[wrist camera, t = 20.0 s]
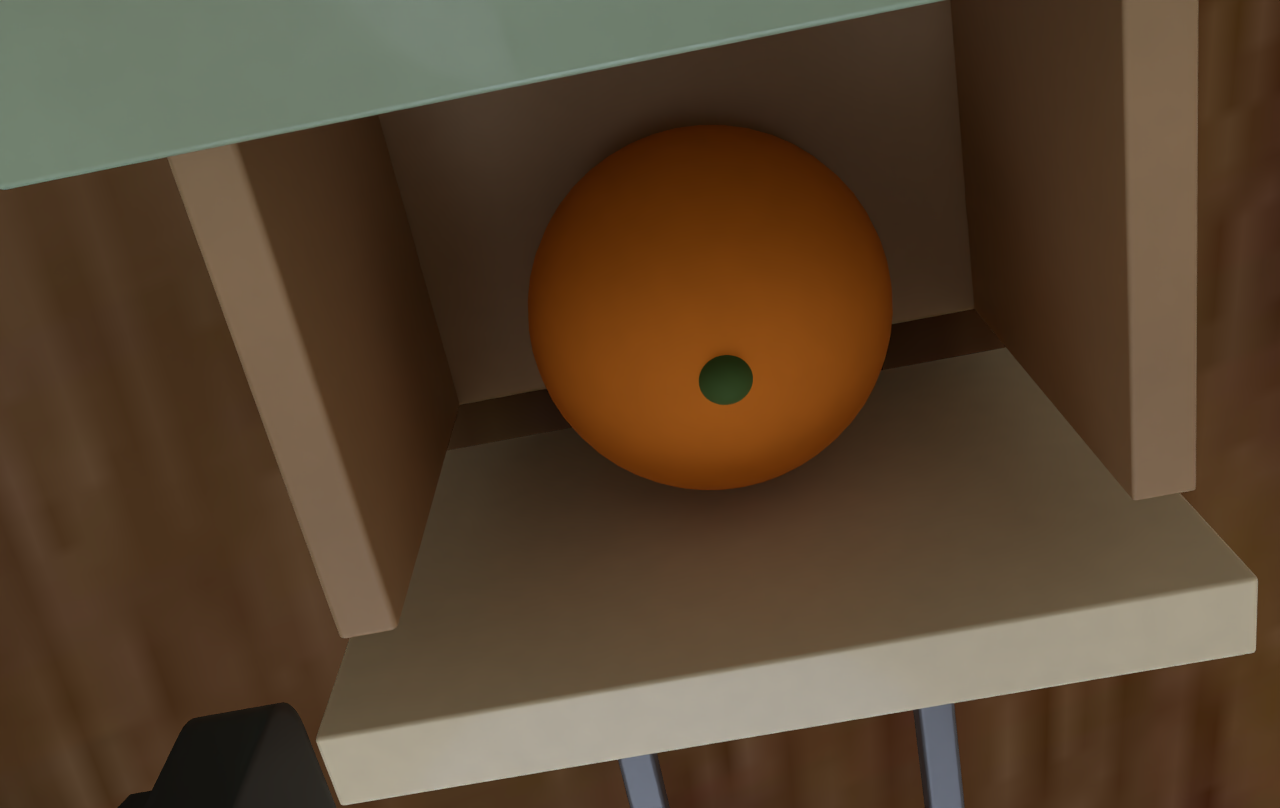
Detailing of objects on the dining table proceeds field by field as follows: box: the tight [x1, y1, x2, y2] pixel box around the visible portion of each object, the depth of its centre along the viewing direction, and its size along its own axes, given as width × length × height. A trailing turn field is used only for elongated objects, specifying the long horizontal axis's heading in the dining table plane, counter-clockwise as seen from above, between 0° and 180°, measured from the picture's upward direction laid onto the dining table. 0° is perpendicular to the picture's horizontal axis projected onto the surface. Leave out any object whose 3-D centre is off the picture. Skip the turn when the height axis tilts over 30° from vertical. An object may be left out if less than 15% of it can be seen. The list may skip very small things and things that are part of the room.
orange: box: [528, 125, 893, 490], centre depth 18 cm, size 6×6×6 cm
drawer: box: [167, 0, 1258, 808], centre depth 18 cm, size 21×12×8 cm, turn 11°
